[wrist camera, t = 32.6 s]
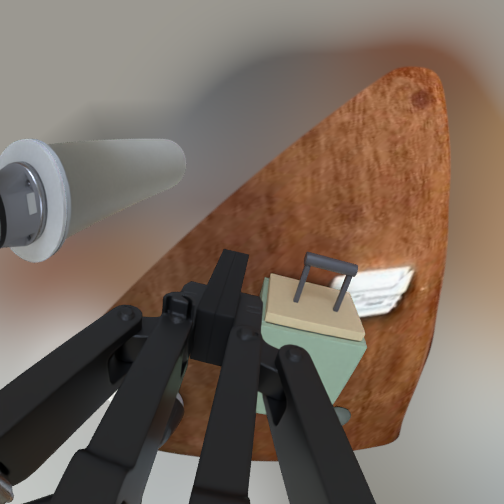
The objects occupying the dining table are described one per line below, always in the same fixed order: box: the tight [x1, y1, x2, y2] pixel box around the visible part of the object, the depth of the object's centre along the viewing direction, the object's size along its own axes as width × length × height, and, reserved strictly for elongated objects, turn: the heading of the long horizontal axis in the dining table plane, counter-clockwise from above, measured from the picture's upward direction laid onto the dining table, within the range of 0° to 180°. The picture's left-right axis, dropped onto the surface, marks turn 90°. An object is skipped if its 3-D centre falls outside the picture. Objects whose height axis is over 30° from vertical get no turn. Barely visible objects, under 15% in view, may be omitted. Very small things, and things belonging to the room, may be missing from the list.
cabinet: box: [256, 277, 367, 415], centre depth 38 cm, size 15×13×12 cm
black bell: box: [159, 393, 184, 448], centre depth 45 cm, size 10×10×15 cm
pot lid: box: [334, 407, 351, 425], centre depth 48 cm, size 12×12×5 cm
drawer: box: [264, 252, 365, 341], centre depth 36 cm, size 20×11×10 cm, turn 167°
